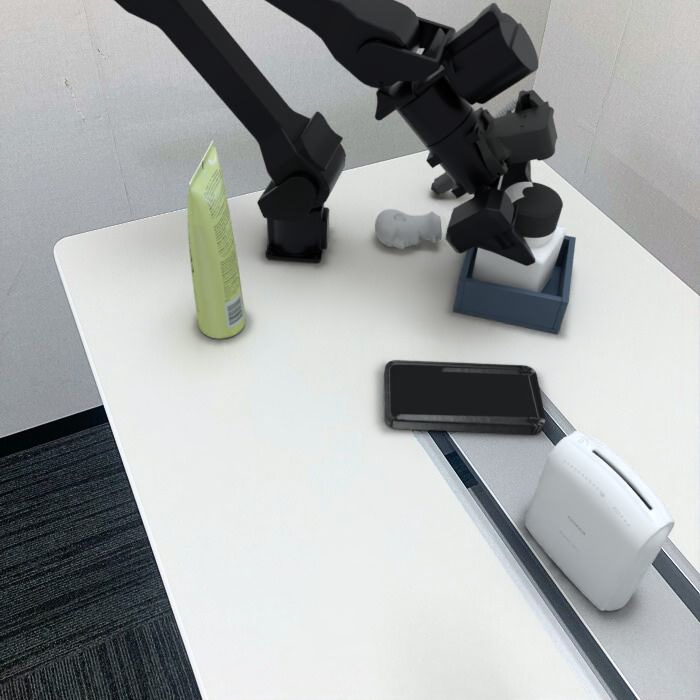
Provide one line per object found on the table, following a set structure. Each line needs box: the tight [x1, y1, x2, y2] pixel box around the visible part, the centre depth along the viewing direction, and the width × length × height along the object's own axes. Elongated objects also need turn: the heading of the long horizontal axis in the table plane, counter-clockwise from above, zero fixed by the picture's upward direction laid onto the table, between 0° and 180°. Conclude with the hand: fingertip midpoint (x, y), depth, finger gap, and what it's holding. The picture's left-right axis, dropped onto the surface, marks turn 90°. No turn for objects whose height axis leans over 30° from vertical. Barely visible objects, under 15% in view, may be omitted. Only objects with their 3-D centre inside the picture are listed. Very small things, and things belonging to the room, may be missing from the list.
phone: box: [383, 359, 546, 435], centre depth 73 cm, size 8×1×15 cm
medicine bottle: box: [471, 181, 567, 293], centre depth 80 cm, size 7×7×12 cm
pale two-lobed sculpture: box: [374, 208, 443, 250], centre depth 89 cm, size 4×8×5 cm
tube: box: [186, 139, 246, 339], centre depth 73 cm, size 6×5×20 cm
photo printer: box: [524, 430, 676, 612], centre depth 57 cm, size 10×4×12 cm, turn 32°
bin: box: [452, 234, 577, 335], centre depth 83 cm, size 11×11×5 cm
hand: (535, 239), depth 79 cm, fingers closed on medicine bottle, 8 cm apart
